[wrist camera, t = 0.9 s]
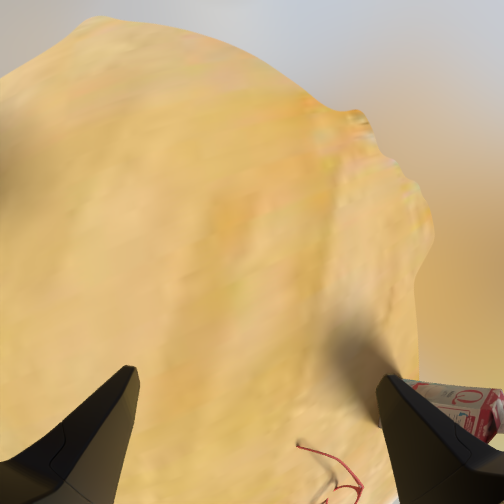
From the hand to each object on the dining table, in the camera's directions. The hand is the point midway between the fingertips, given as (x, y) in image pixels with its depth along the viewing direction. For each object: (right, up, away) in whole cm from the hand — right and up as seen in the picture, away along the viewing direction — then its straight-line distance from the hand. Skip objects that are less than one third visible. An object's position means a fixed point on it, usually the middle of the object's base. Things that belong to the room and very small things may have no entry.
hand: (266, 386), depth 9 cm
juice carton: (+22, -20, +29) cm, 42 cm away
